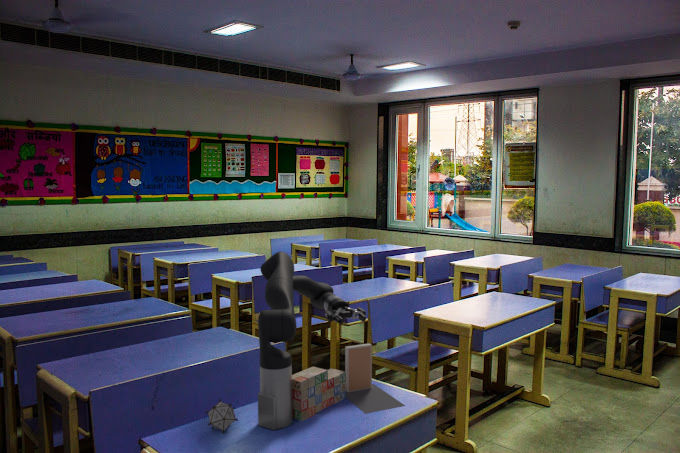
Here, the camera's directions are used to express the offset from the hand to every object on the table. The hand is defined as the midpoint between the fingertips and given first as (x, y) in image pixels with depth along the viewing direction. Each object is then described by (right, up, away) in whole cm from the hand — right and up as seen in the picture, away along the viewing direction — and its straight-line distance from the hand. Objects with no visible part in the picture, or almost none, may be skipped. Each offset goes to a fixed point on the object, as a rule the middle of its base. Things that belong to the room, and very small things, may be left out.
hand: (353, 320), depth 191 cm
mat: (+5, -23, -15) cm, 28 cm away
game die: (-38, -25, -36) cm, 58 cm away
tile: (+2, -22, -7) cm, 23 cm away
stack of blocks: (-12, -24, -21) cm, 34 cm away
